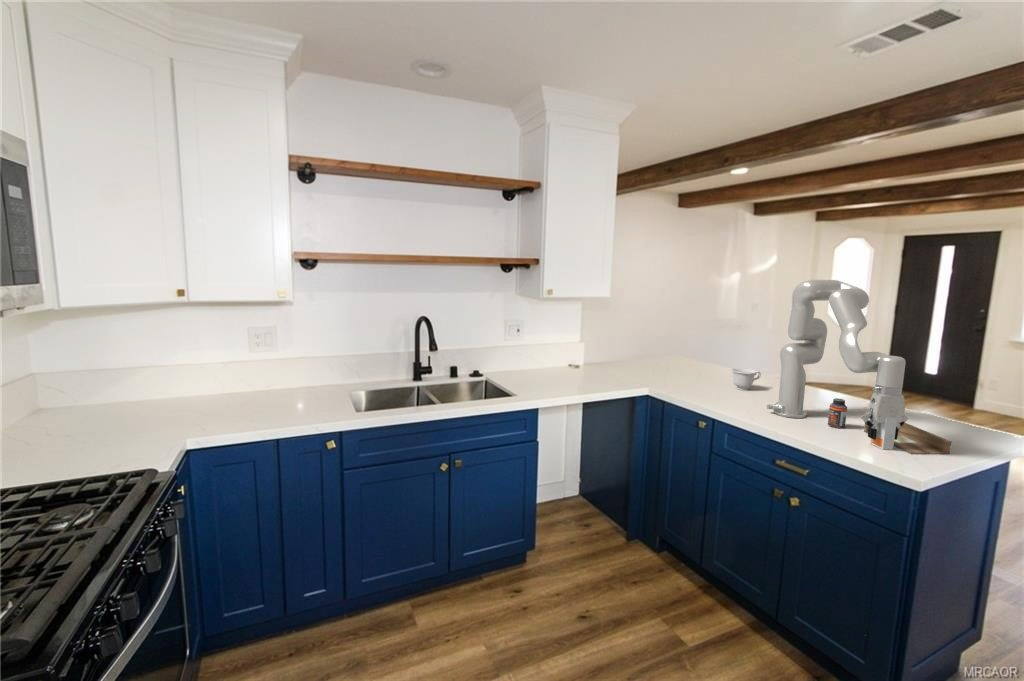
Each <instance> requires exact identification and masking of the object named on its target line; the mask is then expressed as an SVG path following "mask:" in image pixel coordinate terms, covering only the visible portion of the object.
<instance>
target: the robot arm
mask: <svg viewBox="0 0 1024 681" xmlns="http://www.w3.org/2000/svg"><path fill="white" fill-rule="evenodd" d="M816 301H819V302H821V301H824V302H825V301H828V303H829V304H830V308H831V310H832V312H833V315H834V318H835V319H836V321H837V323H838V326H839V328H840V330H841V331H840V335H839V340H838V349H839V353H840V356H841V358H842V361H843V363H844V364H845V366H846V368H848V370H849V371H850V372H853V373H856V374H865V373H876V380H875V386H873V387H872V389H871V390H872V391H873V392H872V395H871V398H870V401H869V403H868V404H869V405H868V411H867V412H865V413H863V415H861V417H860V418H861V420H862V421H863V422H864V424H865V423H866V425H867V426H868V433H867V437H868V438H869V439H870V438H871V439H874V440H875V439H876V434H877V429H875V428H876V426H877V425H878V423H885V421H886V417H894V418H897V423H896V431H895V438H894V439H895V440H897V436H898V430H899V429H900V428H901V426H902V425H903V424H904V422H905V423H907V421H908V420H909V416H907V415H906V414H905V413H906V405H905V402H906V401H905V396H904V395H903V394H902V392H903V387H904V386H903V385H904V377H905V370H906V369H905V368H906V359H905V358H903V357H902V356H897V355H890V354H886V353H883V352H880V351H864V352H862V351H861V350H862V349H860V345H859V342H858V336H859V334H860V332H861V331H862V330H864V329H865V328H866V327H867V326H868V321H867V319H866V317H865V315H864V312H863V311H862V310H863V309H864V308H866V307H867V306H868V305H869V302H870V297H869V295H868V293H867V292H866V290H864V289H863V288H860V287H857V286H854V285H852V284H849V283H846V282H843V281H841V280H838V279H837V280H836V279H809V280H804V281H802V282H800V283H798V284H797V285H796V286H795V287H794V289H793V291H792V296H791V310H790V315H789V322H788V327H787V335H788V338H790V340H792V341H800V342H794V343H793V342H792V343H789V344H786V345H784V346H783V347H781V350H780V352H779V358H780V380H779V381H780V382H779V391H778V392H779V393H778V401H775V403H774V404H767V405H766V409H767V410H772V411H773V413H774V414H775V415H778V416H781V417H784V418H791V419H792V418H793V419H802V418H806V417H807V412H805V411H804V401H805V393H806V392H805V390H806V381H807V374H806V370H805V367H804V365H815V364H817V363H819V362H820V361H821V360H822V358H823V355H824V353H825V346H826V341H827V338H828V337H827V336H828V327H827V324H826V322H825V321H824V320H822V319H820V318H818V317H814V316H815V310H816V309H815V304H814V302H816ZM802 341H803V342H802ZM873 422H874V423H873Z"/></svg>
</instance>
